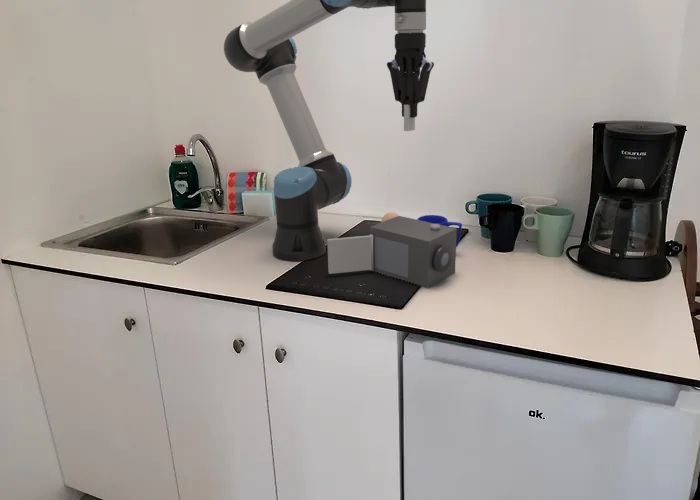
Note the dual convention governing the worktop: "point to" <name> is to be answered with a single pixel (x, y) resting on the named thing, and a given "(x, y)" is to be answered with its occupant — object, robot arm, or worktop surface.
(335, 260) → the door
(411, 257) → the camera body
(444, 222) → the mug
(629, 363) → the worktop surface
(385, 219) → the egg
